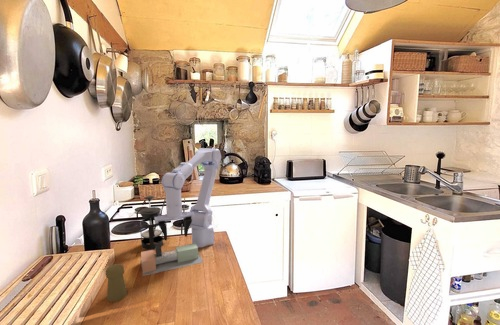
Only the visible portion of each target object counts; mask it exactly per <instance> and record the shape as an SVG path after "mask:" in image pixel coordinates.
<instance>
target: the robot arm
mask: <svg viewBox="0 0 500 325" xmlns="http://www.w3.org/2000/svg"><path fill="white" fill-rule="evenodd" d="M221 160H222V153H221V150H220V149H219V148H208V147H207V148H205V147H199V148H198V149H197V150H196V151H195V154H194V155H193V156H192V157H191V158H190V159H189V160H188V161H187V162H186V161H185V162H179V163H180V164H179V165H178V166H176V168H173V169H172V170H171V171H170V172H166V173H165V174H163V175H162V177H161V181H160V183H161V186H162V188H163V191H164V192H165V206H166V210H165V211H166V214H162V215H159V216H157V217H154V218H155V220H154V224H156V223H158V225H159V229H160V230H161V231H162V234H163V238H164V239H165V240H164V241H168V235H167V236H166V225H167V223H165V221H166V222H170V221H178V220H182V219H183V233H184V234H183V235H184V237H185V238H186V237H188V232H189V229H190V228H191V244H194V243H196V245H197V247H198V248H205V247H207V246H211V245H214V244H215V231H214V226H213V224H212V222H213V210H212V209H211V207H209V205H210V201H211V196H212V194H213V190H214V185H215V180H216V176H217V173H218V170H219V168H220V164H221ZM199 165H200V166H201V167H202V168H203V169H204V173H203V178H202V181H201V184H200V190H199V193H198V197H197V201H196V203H195V204H194V205H192V206H191V207H190V209H189V211H183V206H182V205H183V204H182V203H183V202H182V188H183V187H184V184H185V181H186V179H188V178H189V177H190V176H191V175H192V174H193V173H194V169H195V168H196V167H198V166H199Z"/></svg>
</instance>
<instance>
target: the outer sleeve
mask: <svg viewBox="0 0 500 325" xmlns="http://www.w3.org/2000/svg"><path fill="white" fill-rule="evenodd" d="M175 250H177V256H178V260H177V261H178V262H183V261H187V260H192V259H196V258H198V253H199V247H197V245H196V243H194V244H192V243H190V244H184V245H179V246H175Z"/></svg>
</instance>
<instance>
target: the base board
mask: <svg viewBox="0 0 500 325" xmlns="http://www.w3.org/2000/svg"><path fill="white" fill-rule="evenodd" d="M200 263H201V264H202V263H204V261H203V258H202V256H201V255H200V254H199V252H198V258H196V259H192V260H187V261H183V262H178V261H177V260H174V261H169V262H165V263H160V264H156V270H154V271H150V272H145V273H143V268H142V259H140V264H141V272H142V277H144V276H149V275H153V274H154V275H155V274H158V273H162V272H163V273H164V272H166V271H171V270H175V269H179V268H183V267H188V266H192V265H196V264H197V265H198V264H200Z"/></svg>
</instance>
